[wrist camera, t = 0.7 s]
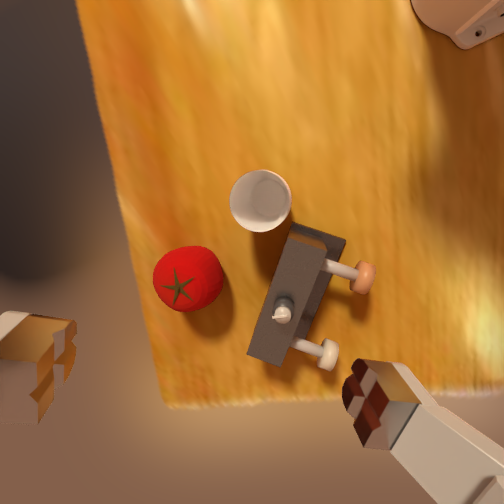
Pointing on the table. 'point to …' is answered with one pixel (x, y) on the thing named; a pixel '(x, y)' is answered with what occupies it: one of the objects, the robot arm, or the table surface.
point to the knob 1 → (319, 351)
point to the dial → (283, 310)
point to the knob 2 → (353, 274)
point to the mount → (294, 290)
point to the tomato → (188, 278)
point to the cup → (260, 200)
